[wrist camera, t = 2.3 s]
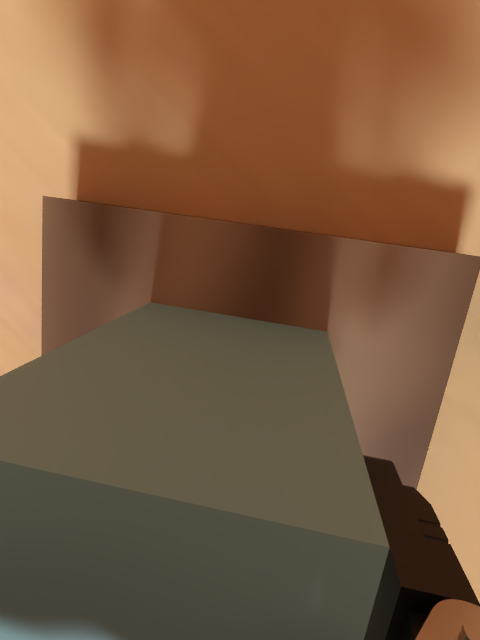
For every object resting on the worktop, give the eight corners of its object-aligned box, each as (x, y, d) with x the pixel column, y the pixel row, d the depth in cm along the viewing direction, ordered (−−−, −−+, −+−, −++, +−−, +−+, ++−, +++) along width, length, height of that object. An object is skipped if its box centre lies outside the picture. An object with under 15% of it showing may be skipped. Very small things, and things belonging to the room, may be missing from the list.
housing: (326, 331, 12) (389, 548, 4) (296, 489, 14) (293, 892, 5) (150, 302, 13) (-119, 435, 5) (138, 456, 15) (-82, 768, 6)
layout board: (456, 253, 13) (677, 285, 6) (318, 764, 20) (331, 1110, 12) (76, 200, 15) (-167, 168, 7) (62, 691, 21) (-73, 955, 13)
